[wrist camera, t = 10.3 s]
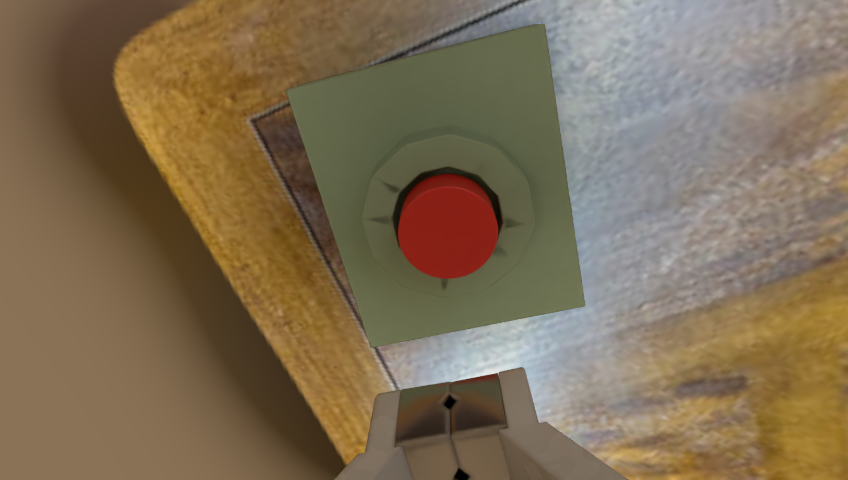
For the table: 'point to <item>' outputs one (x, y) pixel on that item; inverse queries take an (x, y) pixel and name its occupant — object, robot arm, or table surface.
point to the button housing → (446, 154)
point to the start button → (447, 226)
